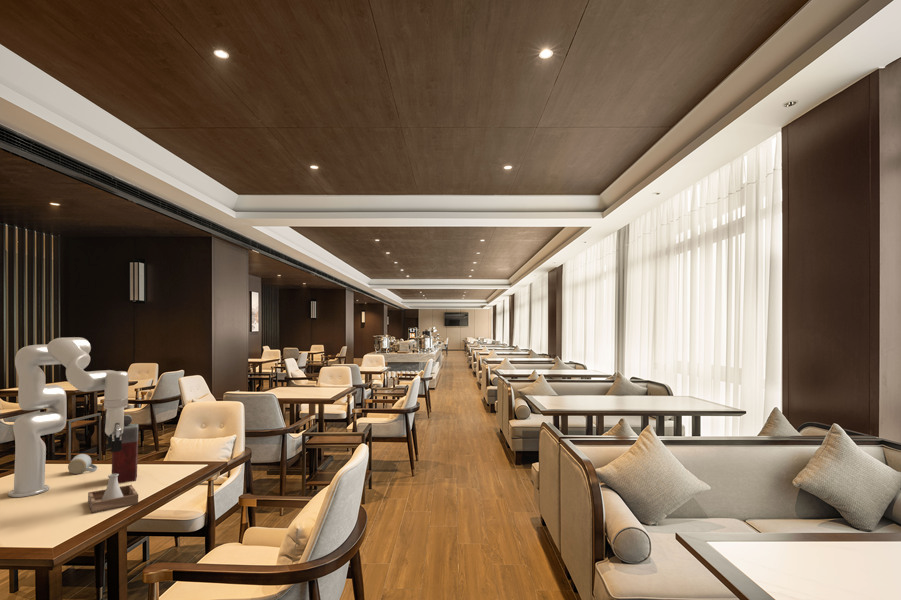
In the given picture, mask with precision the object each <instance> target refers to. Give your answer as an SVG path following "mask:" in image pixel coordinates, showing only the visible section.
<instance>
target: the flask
mask: <svg viewBox="0 0 901 600" xmlns="http://www.w3.org/2000/svg"><path fill="white" fill-rule="evenodd" d="M118 475H119V474H112V473H111V474H108V475H107V477H108V481H107V486H106V488H105V489H106V491H105V493H104V495H103V497H102V499H101V501H104V500H109V499H114V498H120V497H124V496H123V494H122V492H121V489H120V487H121V486H120V483H118Z"/></svg>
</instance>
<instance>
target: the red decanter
mask: <svg viewBox="0 0 901 600" xmlns="http://www.w3.org/2000/svg"><path fill="white" fill-rule="evenodd" d="M132 421H133V417H132V416H131V415H129V414H126V415H125V414H124V427H123V433H122V434H121V440H122V448H121V451H117V452H111V453H112V454H111V474H119V475H118V484H122V483H129V482H136V481H137V477H138V461H139V460H138V459H139V457H138V456H139V455H138V453H139V426H140V425H139V424H138V423H132Z"/></svg>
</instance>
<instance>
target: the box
mask: <svg viewBox="0 0 901 600" xmlns="http://www.w3.org/2000/svg"><path fill="white" fill-rule="evenodd" d="M119 487H120V489H121V492H122V494H123V496H124V497H120V498H114V499H109V500H104V501H101V499H102V497H103V495H104V493H105V491H106V488H105V489H100V490H96V491H89V492H88V493H87V503H88V505H89V508H90V510H91V514H96V513H100V512H105V511H111V510H117V509H120V508H127V507H130V506H135V505H139V493H138V492H137V491H136V489H135V487H134V486H133V485H132V484H128V485H127V484H126V485H123V486H119Z"/></svg>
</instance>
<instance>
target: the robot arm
mask: <svg viewBox="0 0 901 600" xmlns="http://www.w3.org/2000/svg"><path fill="white" fill-rule="evenodd" d="M91 349H92V346H91V343H90V342H89V340H88V339H86V338H85V337H79V336H78V337H75V336H73V337H57V338H54V339H52V340H51V341H49V342H48V344H32V345H27V346H24V347H22V348H20V349H19V350H18V351H17V353H16V354H15V357H14V365H15V369H16V373H17V377H18V378H17V379H18V381H17V382H18V385H17V387H18V389H17V390H18V394H17V395H18V396H17V398H18V400H17V401H18V406H19V408H20V409H21V410H23V411H36V410H44V409H46V411H40V412H32V413H28V414H23V415H21V416H19V417H17V418H16V419H15V420H14V423H13V424H12V425H13V426H12V430H13V431H12V432H13V435H14V441H15V442H14V443H15V452H14V457H15V458H14V473H13V474H14V475H13V477H14V478H13V489H12V490H10V491H8V493H7V494H8V496H9V497H10V498H23V497H29V496H35V495H38V494H43V493H44V492H47V491H49V490H50V485H48V484H45V481H46V480H45V479H46V460H47V459H46V455H47V452H46V451H47V447H46V446H47V445H46V443H45V441H44V440H42V439H43V438H41V436H45V435H46V436H47V435H50V434H56V433H59V432H61V431H62V430H64V429H65V427H66V425H67V419H68V418H67V415H68V414H67V400H68V399H67V393H66V390H65V388H64V387H62V386H61V385H59V384H46V374H45V372H44V370H42V368H41V367H40V366H51V365H62V366H63V367H65V376H66V377H65V378H66V380H67V382H68V383H69V384H70V385H71V386H72V387H74V388H75V389H76V390H78V391H80V392H84V393H85V392H86V393H87V392H97V391H103V390H104V398H103V399H104V402H103V409H104V410H106V412H105V413H106V414H105V425H104V426H105V427H104V433H105V434H106V436H108V437H107V448H110V452H111V453H112V452H117V451H121V448H122V440H121V434H122V433H123V427H124V416H125V409H126V408H128V404H129V373H128V371H123V370H119V371H118V370H117V371H116V370H113V369H112V370H111V369H107V370H92V371H85V370H84V369H86V368H87V367H88V366H89V364H90V362H91V356H90V352H91Z"/></svg>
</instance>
